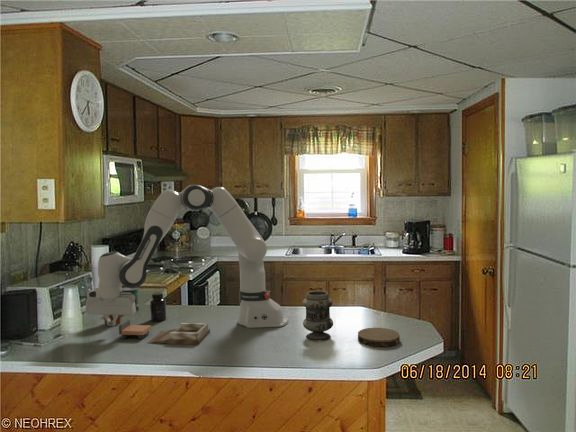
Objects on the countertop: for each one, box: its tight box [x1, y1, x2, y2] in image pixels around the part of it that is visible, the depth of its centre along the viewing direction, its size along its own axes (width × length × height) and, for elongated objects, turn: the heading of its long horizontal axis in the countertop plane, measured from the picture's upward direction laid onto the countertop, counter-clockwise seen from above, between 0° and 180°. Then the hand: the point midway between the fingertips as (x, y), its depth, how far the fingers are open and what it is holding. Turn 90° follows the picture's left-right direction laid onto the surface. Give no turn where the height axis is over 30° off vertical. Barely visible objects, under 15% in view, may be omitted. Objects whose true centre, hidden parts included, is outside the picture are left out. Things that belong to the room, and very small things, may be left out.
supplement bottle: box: [149, 292, 167, 322], centre depth 222 cm, size 7×7×12 cm
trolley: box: [118, 319, 152, 340], centre depth 198 cm, size 10×8×6 cm
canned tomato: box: [122, 287, 140, 312], centre depth 238 cm, size 8×8×11 cm
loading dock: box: [146, 322, 211, 346], centre depth 196 cm, size 21×15×5 cm
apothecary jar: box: [302, 290, 334, 342], centre depth 193 cm, size 12×12×18 cm
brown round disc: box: [357, 327, 401, 349], centre depth 189 cm, size 16×16×3 cm
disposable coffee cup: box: [103, 315, 122, 327], centre depth 216 cm, size 10×10×12 cm
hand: (111, 325), depth 199 cm, fingers closed
